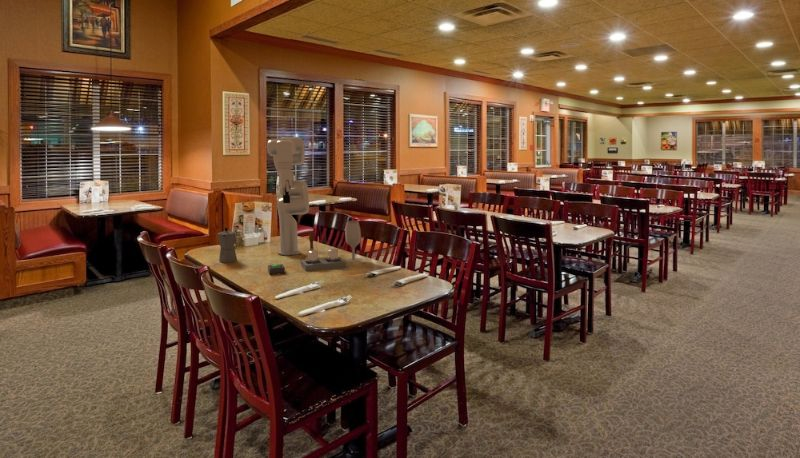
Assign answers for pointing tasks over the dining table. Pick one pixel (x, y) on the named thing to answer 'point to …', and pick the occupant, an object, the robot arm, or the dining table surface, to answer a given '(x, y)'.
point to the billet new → (312, 256)
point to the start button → (275, 265)
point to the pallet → (323, 264)
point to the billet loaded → (332, 255)
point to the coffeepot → (227, 246)
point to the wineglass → (353, 238)
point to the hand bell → (311, 239)
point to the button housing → (276, 270)
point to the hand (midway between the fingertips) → (286, 203)
